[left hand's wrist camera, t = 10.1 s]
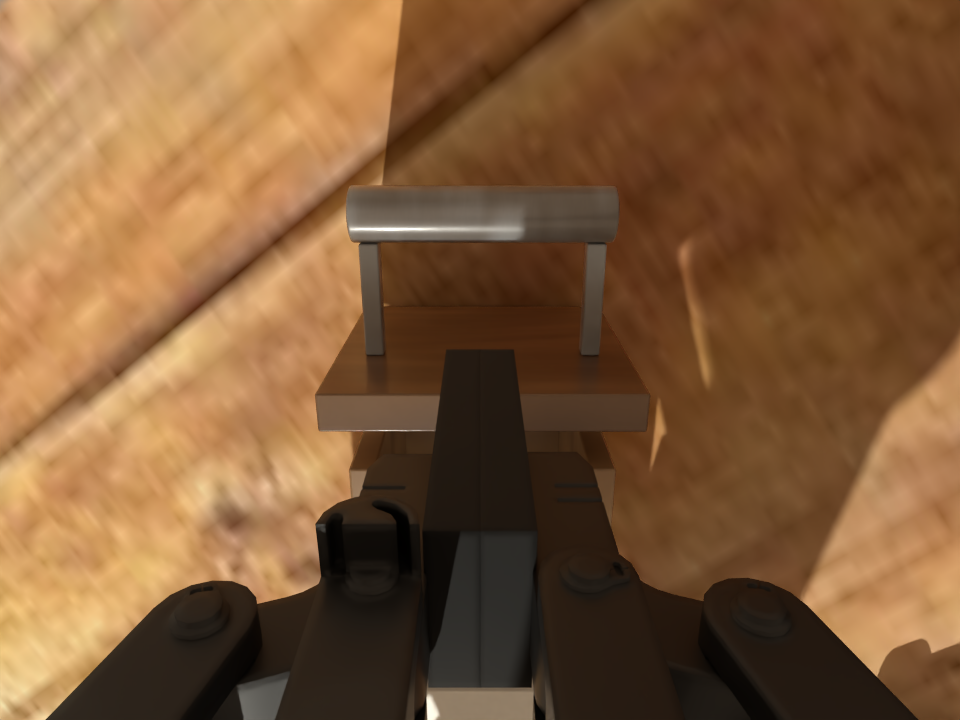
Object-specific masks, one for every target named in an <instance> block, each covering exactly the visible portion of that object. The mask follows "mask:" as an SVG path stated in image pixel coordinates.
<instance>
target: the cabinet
mask: <svg viewBox="0 0 960 720" xmlns="http://www.w3.org/2000/svg"><path fill="white" fill-rule="evenodd" d="M426 695H427V720H533V695H534V691H533V680H532V688H428V683H427V694H426Z"/></svg>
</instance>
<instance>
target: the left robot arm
mask: <svg viewBox="0 0 960 720" xmlns="http://www.w3.org/2000/svg"><path fill="white" fill-rule="evenodd" d="M316 533H317V542H318V551H319V560H320V569H321V579H320V582H319V584H318V585H316V586H314V587H312V588H310V589H308V590H306V591H304V592H302V593H299V594H295V595H292V596H289V597H286V598H281V599H277V600H273V601H268V602H264V603H260V604H257V601H256V597H255V596H254V594H253V593H252V592H251V591H250V590H249V589H248V588H247V587H246V586H243V585H240V584H238V583H235V582H232V581H209V582H204V583H200V584H195V585H191V586H189V587H187V588H185V589H182V590H180V591H178V592H176V593H174V594H172V595H170V596H169V597H167V598H166V599H165V600H164V601H162V602H161V603H160V604H158V605H157V606H156V607H155V608H153V610H152V611H151V612H150V613H149V614H148V615H147V616H146V617H145V618H144V619H143V620H142V621H141V622H140V623H139V624H138V625H137V626H136V627H135V628H134V629H133V630H132V631H131V632H130V633H129V634H128V635H127V636H126V637H125V638H124V639H123V640H122V642H121V643H120V644H119V645H118V646H117V647H116V648H115V649H114V650H113V651H112V652H111V653H110V654H109V655H108V656H107V657H106V658H105V659H104V660H103V661H102V662H101V663H100V664H99V665H98V666H97V667H96V668H95V669H94V670H93V671H92V672H91V674H90V675H89V676H88V677H87V678H86V679H85V680H84V681H83V682H82V683H81V684H80V685H79V686H78V687H77V688H76V689H75V690H74V691H73V692H72V693H71V694H70V695H69V696H68V697H67V698H66V699H65V700H64V701H63V702H62V703H61V704H60V706H59V707H58V708H57V709H56V710H55V711H54V712H53V713H52V714H51V715H50V716H49V717H48V718H47V719H46V720H427V695H426V694H427V683H428V688H532V680H533V691H534V695H533V720H918V719H917V718H916V717H915V716H914V715H913V714H912V713H911V712H910V711H909V710H908V709H907V708H906V706H905V705H904V704H903V703H902V702H901V701H900V700H899V699H898V698H897V697H896V696H895V695H894V694H893V693H892V692H891V691H890V690H889V689H888V688H887V687H886V686H885V685H884V684H883V683H882V682H881V681H880V680H879V679H878V678H877V677H876V676H875V675H874V674H873V673H872V672H871V671H870V670H869V669H868V668H867V667H866V665H865V664H864V663H863V662H862V661H861V660H860V659H859V658H858V657H857V656H856V655H855V654H854V653H853V652H852V651H851V650H850V649H849V648H848V647H847V646H846V645H845V644H844V643H843V642H842V641H841V640H840V639H839V638H838V637H837V636H836V635H835V634H834V633H833V632H832V631H831V630H830V629H829V628H828V627H827V626H826V624H825V623H824V622H823V621H822V620H821V619H820V618H819V617H818V616H817V615H816V614H815V613H814V612H813V611H812V610H811V609H810V608H809V607H808V606H807V605H806V604H804V603H803V602H802V601H801V600H799V599H798V598H797V597H795V596H794V595H793V594H792V593H790V592H789V591H786V590H784V589H782V588H780V587H778V586H775V585H773V584H771V583H769V582H764V581H759V580H755V579H750V578H731V579H726V580H723V581H721V582H718V583H715V584H713V585H712V586H711V588H710V589H709V590H708V591H707V592H706V593H705V595H704V601H699V600H694V599H690V598H686V597H681V596H677V595H673V594H670V593H667V592H663V591H660V590H657V589H655V588H653V587H651V586H649V585H647V584H645V583H643V582H642V581H641V580H640V578H639V575H638V574H637V572H636V571H635V569H634V567H633V566H632V564H631V563H630V562H629V561H627V560H626V559H625V558H623V557H622V556H621V555H619V552H618V549H617V546H616V542H615V539H614V536H613V532H612V529H611V526H610V522H609V519H608V516H607V513H606V509H605V506H604V503H603V502H602V496H601V493H600V489H599V487H598V483H597V479H596V476H595V473H594V469H593V467H592V466H591V465H590V464H589V463H588V462H587V461H586V460H585V459H584V458H583V457H582V456H581V455H580V454H579V453H577V452H527V445H526V438H525V430H524V423H523V415H522V407H521V400H520V392H519V385H518V377H517V370H516V362H515V354H514V349H446V354H445V362H444V370H443V377H442V385H441V392H440V400H439V407H438V415H437V423H436V430H435V438H434V445H433V453H432V454H383V455H382V456H381V457H379V458H378V459H377V460H376V461H375V462H374V463H373V464H372V465H371V466H370V467H369V468H368V469H367V472H366V475H365V479H364V482H363V485H362V490H361V492H360V495H359V497H354V498H351V499H348V500H345V501H342V502H339V503H337V504H336V505H334V506H333V507H331V508H330V509H328V510H327V511H325V512H324V513H323V514H322V516H321V517H320V518H319V520H318V521H317V523H316Z"/></svg>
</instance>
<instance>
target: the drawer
mask: <svg viewBox="0 0 960 720" xmlns="http://www.w3.org/2000/svg"><path fill="white" fill-rule="evenodd" d="M346 219H347V228H348V233H349V236H350V239H351V241H352V242H354V243H360V244H359V260H360V275H361V290H362V305H363V313H362V315H361V316H360V318H359V320H358V321H357V323H356V325H355V327H354V328H353V330H352V332H351V334H350V335H349V337H348V339H347V340H346V342H345V344H344V346H343V347H342V349H341V351H340V353H339V354H338V356H337V358H336V359H335V361H334V363H333V365H332V366H331V368H330V370H329V372H328V373H327V375H326V377H325V378H324V380H323V382H322V384H321V385H320V387H319V389H318V391H317V392H316V394H315V400H316V410H317V420H318V429H319V431H363V433H362V436H361V439H360V442H359V444H358V447H357V450H356V453H355V455H354V458H353V461H352V464H351V466H350V469H349V475H350V487H351V498H354V497H359V495H360V492H361V490H362V485H363V482H364V479H365V475H366V472H367V469H368V468H369V467H370V466H371V465H372V464H373V463H374V462H375V461H376V460H377V459H378V458H379V457H381V456H382V455H383V454H432V453H433V445H434V438H435V430H436V423H437V415H438V407H439V400H440V392H441V385H442V377H443V370H444V362H445V354H446V349H514V354H515V362H516V370H517V377H518V385H519V392H520V400H521V407H522V415H523V423H524V430H525V438H526V445H527V452H577V453H579V454H580V455H581V456H582V457H583V458H584V459H585V460H586V461H587V462H588V463H589V464H590V465H591V466H592V467H593V469H594V473H595V476H596V479H597V483H598V487H599V489H600V493H601V496H602V502H603V503H604V506H605V509H606V513H607V516H608V519H609V522H610V526H611V523H612V511H613V499H614V487H615V475H616V469H615V467H614V464H613V461H612V459H611V456H610V453H609V450H608V448H607V445H606V442H605V440H604V437H603V434H602V432H645V431H646V430H647V423H648V413H649V403H650V394H649V392H648V390H647V389H646V387H645V385H644V383H643V382H642V380H641V378H640V377H639V375H638V373H637V371H636V370H635V368H634V366H633V365H632V363H631V361H630V359H629V358H628V356H627V354H626V353H625V351H624V349H623V347H622V346H621V344H620V342H619V341H618V339H617V337H616V336H615V334H614V332H613V330H612V329H611V327H610V325H609V324H608V322H607V320H606V318H605V317H604V315H603V313H602V308H603V294H604V279H605V264H606V250H607V245H606V244H605V243H611V242H613V241H614V240H615V238H616V234H617V230H618V223H619V195H618V191H617V188H616V187H615V186H425V185H352V186H350V187H349V189H348V193H347V200H346ZM380 243H585V251H584V269H583V287H582V305H581V307H384V303H383V285H382V266H381V247H380Z"/></svg>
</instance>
